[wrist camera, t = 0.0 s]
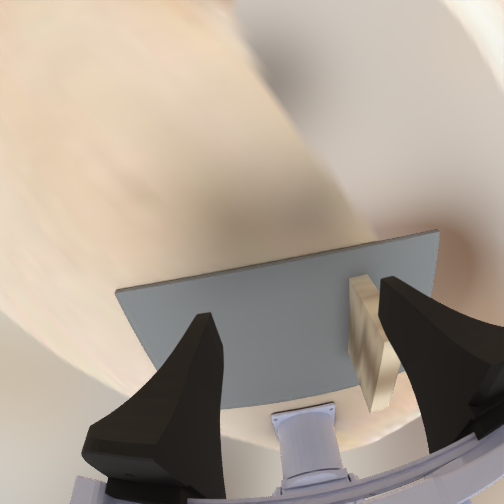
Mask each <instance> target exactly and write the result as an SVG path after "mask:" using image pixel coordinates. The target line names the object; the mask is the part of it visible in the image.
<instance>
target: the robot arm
mask: <svg viewBox="0 0 504 504" xmlns="http://www.w3.org/2000/svg"><path fill="white" fill-rule="evenodd" d="M378 317H379V320H380V322H381V325H382V327H383V330H384V332H385V335H386V337H387V338H388V340H389V342H390V344H391V346H392V347H393V349H394V351H395V353H396V355H397V356H398V358H399V360H400V362H401V364H402V366H403V368H404V369H405V371H406V373H407V375H408V378H409V380H410V382H411V385H412V388H413V391H414V393H415V396H416V399H417V402H418V406H419V409H420V412H421V416H422V420H423V423H424V427H425V432H426V436H427V442H428V447H429V453H430V455H427V456H425V457H423V458H421V459H418V460H416V461H413V462H411V463H408V464H405V465H403V466H400V467H397V468H395V469H392V470H389V471H386V472H383V473H380V474H377V475H374V476H370V477H367V478H364V479H359V478H358V476H356V475H354V474H353V473H350V474H347V470H346V468H344V469H343V465H342V460H341V456H340V452H339V447H338V443H337V439H336V435H335V431H334V421H335V404H334V403H329V404H325V405H320V406H315V407H310V408H305V409H300V410H295V411H289V412H283V413H277V414H273V415H271V419H272V422H273V425H274V428H275V432H276V435H277V438H278V441H279V444H280V453H281V462H282V472H283V480H282V481H281V482H282V487H277V488H276V489H275V490H274V491H273V493H272V496H270V497H260V498H245V499H226V494H225V486H224V478H223V468H222V456H221V440H220V406H221V396H222V385H223V374H224V350H223V344H222V341H221V339H220V336H219V333H218V330H217V328H216V325H215V322H214V319H213V317H212V314H211V312H207V313H200V314H197V315H196V316H195V317H194V319H193V321H192V322H191V324H190V325H189V327H188V329H187V330H186V332H185V333H184V335H183V337H182V338H181V340H180V341H179V343H178V344H177V346H176V347H175V349H174V350H173V351H172V353H171V354H170V356H169V357H168V358H167V360H166V361H165V362H164V364H163V365H162V366H161V367H160V369H159V370H158V371H157V372H156V373H155V374H154V376H153V377H152V378H151V379H150V380H149V381H148V382H147V383H146V384H145V385H144V386H143V387H142V388H141V389H140V390H139V391H138V392H137V393H135V394H134V395H133V396H132V397H131V398H130V399H129V400H128V401H126V402H125V403H124V404H123V405H121V406H120V407H119V408H117V409H116V410H115V411H113V412H112V413H111V414H109V415H107V416H106V417H104V418H102V419H101V420H99V421H98V422H96V423H94V424H93V425H91V426H90V427H89V430H88V433H87V437H86V440H85V443H84V446H83V449H82V453H81V454H82V457H83V458H84V460H85V461H86V462H87V463H88V464H90V465H91V466H92V467H94V468H95V469H97V470H98V471H100V472H101V473H103V474H104V475H106V476H107V477H108V481H107V483H105V482H102V481H99V480H96V479H91V478H87V477H84V476H80V475H79V476H77V477H76V481H75V485H74V489H73V493H72V497H71V501H70V504H471V501H470V498H471V497H473V496H474V495H476V494H478V493H479V492H481V491H482V490H484V489H486V488H487V487H489V486H490V485H491V484H493V483H495V482H496V481H497V480H499V479H500V478H501V477H503V476H504V327H501V326H497V325H493V324H489V323H485V322H483V321H480V320H476V319H474V318H471V317H469V316H466V315H464V314H462V313H459V312H457V311H455V310H453V309H450V308H448V307H446V306H445V305H443V304H441V303H439V302H437V301H435V300H433V299H432V298H430V297H428V296H427V295H425V294H423V293H422V292H420V291H418V290H417V289H415V288H413V287H412V286H410V285H408V284H407V283H405V282H403V281H402V280H400V279H398V278H397V277H395V276H389V277H385V278H381V279H380V295H379V308H378ZM425 476H426V477H425ZM423 477H425V478H424V480H422V481H419V482H417V483H414V484H412V485H409V486H407V487H404V488H401V489H399V490H396V491H393V492H390V493H388V494H385V495H381V496H379V497H375V498H372V499H369V500H366V501H365V500H364V499H365V498H368V497H371V496H375V495H378V494H381V493H384V492H387V491H390V490H393V489H395V488H398V487H401V486H403V485H406V484H409V483H411V482H414V481H416V480H418V479H421V478H423Z"/></svg>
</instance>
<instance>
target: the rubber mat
mask: <svg viewBox="0 0 504 504" xmlns="http://www.w3.org/2000/svg"><path fill="white" fill-rule="evenodd" d="M439 237H440V231H439V230H437V229H436V230H431V231H426V232H422V233H417V234H412V235H407V236H402V237H397V238H392V239H387V240H383V241H378V242H373V243H368V244H363V245H358V246H353V247H348V248H343V249H338V250H333V251H327V252H322V253H317V254H312V255H307V256H302V257H296V258H291V259H286V260H281V261H275V262H270V263H265V264H260V265H254V266H249V267H243V268H238V269H233V270H227V271H222V272H216V273H211V274H205V275H200V276H194V277H188V278H183V279H177V280H171V281H166V282H160V283H154V284H149V285H143V286H137V287H131V288H125V289H119V290H116V291H115V296H116V298H117V300H118V302H119V304H120V306H121V308H122V309H123V311H124V313H125V315H126V317H127V319H128V321H129V323H130V325H131V327H132V328H133V330H134V332H135V334H136V336H137V337H138V339H139V341H140V343H141V345H142V346H143V348H144V350H145V351H146V353H147V355H148V356H149V358H150V360H151V361H152V363H153V365H154V366H155V368H156V370H157V371H158V370H159V369H160V367H161V366H162V365H163V364H164V362H165V361H166V360H167V358H168V357H169V356H170V354H171V353H172V351H173V350H174V349H175V347H176V346H177V344H178V343H179V341H180V340H181V338H182V337H183V335H184V333H185V332H186V330H187V329H188V327H189V325H190V324H191V322H192V321H193V319H194V317H195V316H196V315H197V314H200V313H207V312H211V314H212V317H213V319H214V322H215V325H216V328H217V330H218V333H219V336H220V339H221V341H222V344H223V350H224V374H223V385H222V396H221V406H220V409H231V408H240V407H249V406H257V405H264V404H271V403H278V402H284V401H290V400H295V399H301V398H306V397H311V396H316V395H320V394H325V393H329V392H334V391H338V390H342V389H346V388H350V387H354V386H358V385H360V383H359V381H358V378H357V375H356V372H355V370H354V367H353V364H352V362H351V359H350V356H349V354H348V343H349V278H352V277H356V276H361V275H365V274H368V276H369V277H370V278H371V280H372V281H373V282H374V284H375V285H376V287H377V288H378V290H379V291H380V279H381V278H385V277H389V276H395V277H397V278H398V279H400V280H402V281H403V282H405V283H407V284H408V285H410V286H412V287H413V288H415V289H417V290H418V291H420V292H422V293H423V294H425V295H427V296H428V297H430V298H431V293H432V288H433V282H434V276H435V268H436V262H437V255H438V246H439ZM404 371H405V369H404V368H403V366H402V364H400V368H399V371H398V373H401V372H404Z"/></svg>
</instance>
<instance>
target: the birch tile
mask: <svg viewBox="0 0 504 504" xmlns="http://www.w3.org/2000/svg"><path fill="white" fill-rule="evenodd" d="M379 295H380V291H379V290H378V288H377V287H376V285H375V284H374V282H373V281H372V280H371V278H370V277H369V276H368V274H365V275H361V276H356V277H352V278H349V343H348V354H349V356H350V359H351V362H352V364H353V367H354V370H355V372H356V375H357V378H358V381H359V383H360V386H361V389H362V392H363V394H364V397H365V400H366V403H367V406H368V409H369V412H370V413H373V412H376V411H380V410H383V409H386V408H388V405H389V402H390V399H391V396H392V393H393V389H394V386H395V382H396V379H397V375H398V371H399V368H400V364H401V362H400V360H399V358H398V356H397V355H396V353H395V351H394V349H393V347H392V346H391V344H390V342H389V340H388V338H387V337H386V335H385V332H384V330H383V327H382V325H381V322H380V320H379V317H378V308H379Z"/></svg>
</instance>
